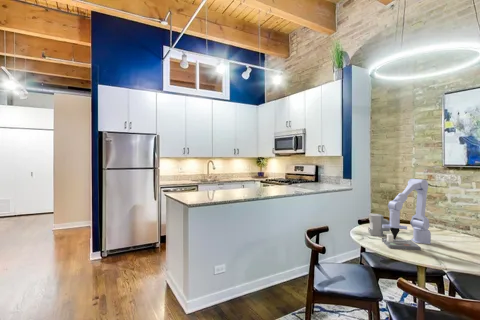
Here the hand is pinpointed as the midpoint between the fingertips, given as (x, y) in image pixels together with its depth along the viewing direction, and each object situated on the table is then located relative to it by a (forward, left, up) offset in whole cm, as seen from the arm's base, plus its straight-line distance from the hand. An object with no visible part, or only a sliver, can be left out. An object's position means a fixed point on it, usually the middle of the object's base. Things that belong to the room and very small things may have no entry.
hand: (394, 239), depth 170 cm
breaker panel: (-4, 0, -4) cm, 5 cm away
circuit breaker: (+2, -23, -4) cm, 23 cm away
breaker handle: (+3, 0, -2) cm, 3 cm away
